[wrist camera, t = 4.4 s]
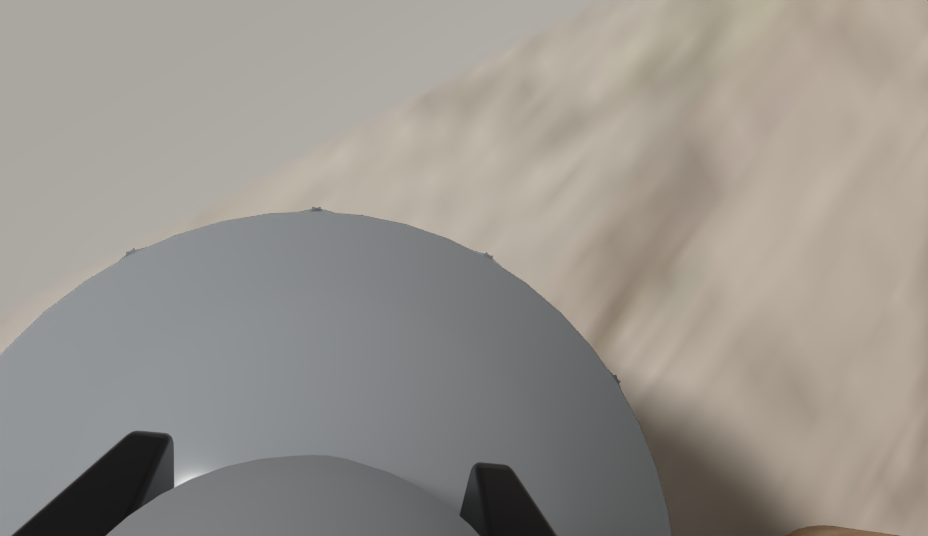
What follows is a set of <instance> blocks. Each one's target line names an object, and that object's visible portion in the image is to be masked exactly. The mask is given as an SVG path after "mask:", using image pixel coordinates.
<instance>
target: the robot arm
mask: <svg viewBox="0 0 928 536" xmlns="http://www.w3.org/2000/svg"><path fill="white" fill-rule="evenodd" d="M173 488H174V442H173V439H172V436H170V435H169V434H167V433H160V432H149V431H139V430H138V431H133V432H130V433H129V434H127V435H126V436H125V437H124V438H122V439H121V440H120V441H119V442H118V443H117V444H116V445H114V446H113V447H112V448H111V449H110V450H109V451H108V452H106V453H105V454H104V455H103V456H102V457H101V458H100V459H98V460H97V461H96V462H95V463H94V464H93V465H91V466H90V467H89V468H88V469H87V470H86V471H85V472H83V473H82V474H81V475H80V476H79V477H78V478H77V479H75V480H74V481H73V482H72V483H71V484H70V485H69V486H67V487H66V488H65V489H64V490H63V491H62V492H60V493H59V494H58V495H57V496H56V497H55V498H54V499H52V500H51V501H50V502H49V503H48V504H47V505H46V506H44V507H43V508H42V509H41V510H40V511H39V512H38V513H36V514H35V515H34V516H33V517H32V518H31V519H30V520H28V521H27V522H26V523H25V524H24V525H23V526H21V527H20V528H19V529H18V530H17V531H16V532H15V533H13V534H12V535H11V536H106V535H107V534H108V533H109V532H110V531H112V530H113V529H114V528H115V527H116V526H117V525H119V524H120V523H121V522H122V521H123V520H124V519H125V518H127V517H128V516H129V515H131V514H132V513H134V512H135V511H137V510H138V509H140V508H141V507H143V506H144V505H146V504H147V503H148V502H150V501H151V500H153V499H154V498H156V497H157V496H159V495H161V494H163V493H165V492H167V491H169V490H171V489H173ZM460 517H461V518H462V519H464V520H465V521H466V522H467V523H468V524H469V525H471V527H472V528H473V529H474V530H475V531H476V532H477V533H478V534H479V536H557V535H556V533H555V532H554V530H553V529H552V527H551V526H550V524H549V523H548V521H547V520H546V518H545V517H544V515H543V514H542V512H541V511H540V509H539V508H538V506H537V505H536V503H535V502H534V500H533V499H532V497H531V496H530V494H529V493H528V491H527V490H526V488H525V487H524V486H523V484H522V483H521V481H520V480H519V478H518V477H517V475H516V474H515V472H514V471H513V469H512V468H510V467H509V466H507V465H504V464H493V463H483V462H478V463H476V464H474V465H473V467H472V468H471V471H470V475H469V479H468V483H467V487H466V491H465V495H464V499H463V503H462V507H461V511H460Z"/></svg>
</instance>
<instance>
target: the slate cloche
mask: <svg viewBox="0 0 928 536" xmlns="http://www.w3.org/2000/svg"><path fill="white" fill-rule="evenodd" d="M619 383H620V381H619V380H618V379H617V376H616V375H613V374H612V373H611V372H610V371H609V370H608V369H607V368H606V366H605V365H604V363H603V362H602V361H601V359H600V358H599V356H598V355H597V354H596V352H595V351H594V349H593V348H592V347H591V345H590V344H589V343H588V342H587V341H586V340H585V339H584V338H583V337H582V335H581V334H580V333H579V332H578V331H577V330H576V329H575V328H574V327H573V326H572V324H571V323H570V322H569V321H568V320H567V319H566V318H565V317H564V316H563V315H562V314H561V312H559V311H558V310H557V309H556V308H555V307H554V306H552V305H551V304H550V303H549V302H548V301H547V300H545V299H544V298H543V297H542V296H541V295H540V294H538V293H537V292H536V291H535V290H534V289H532V288H531V287H530V286H529V285H528V284H527V283H525V282H524V281H522V280H521V279H519V278H518V277H516V276H515V275H513V274H512V273H510V272H508V271H507V270H505V269H504V268H502V267H501V266H500V265H499V264H498V263H497V262H496V261H495V260H494V259H493V256H491V255H489V254H488V253H487V252H486V253H485V254H484V253H480V252H477V251H473V250H470V249H468V248H466V247H464V246H462V245H460V244H458V243H456V242H454V241H452V240H450V239H447V238H444V237H442V236H439V235H436V234H433V233H430V232H427V231H424V230H421V229H418V228H415V227H412V226H409V225H407V224H402V223H397V222H392V221H388V220H383V219H378V218H373V217H368V216H363V215H354V214H341V213H334V212H330V211H327V210H323V209H321V207H318V208H316V207H312V209H309V210H305V211H301V212H292V213H269V214H263V215H257V216H251V217H245V218H239V219H233V220H227V221H222V222H218V223H215V224H212V225H208V226H205V227H201V228H198V229H195V230H191V231H188V232H185V233H181V234H178V235H175V236H172V237H170V238H168V239H166V240H163V241H161V242H159V243H156V244H154V245H152V246H149V247H146V248H142V249H137V250H135V249H134V248H133V249H132V250H131V251H129V252H126V255H125V256H124V257H123V258H122V259H121V260H120V261H118V262H117V263H115V264H113V265H112V266H110V267H108V268H107V269H105V270H103V271H101V272H100V273H98V274H96V275H95V276H93V277H91V278H89V279H88V280H86V281H85V282H83V283H82V284H81V285H79V286H78V287H77V288H75V289H74V290H73V291H71V292H70V293H69V294H67V295H66V296H65V297H63V298H62V299H61V300H60V301H58V302H57V303H56V304H54V305H53V306H52V307H50V308H49V309H48V310H46V311H45V312H44V313H43V314H42V315H41V316H40V317H39V318H37V319H36V320H35V321H34V322H33V323H32V324H31V325H30V326H29V327H28V328H27V329H26V330H25V331H24V332H23V333H22V334H21V335H20V336H19V337H18V338H17V339H16V340H15V341H14V342H13V343H12V344H11V345H10V346H9V347H7V348H6V349H5V351H4V352H3V353H2V354H1V355H0V536H11V535H12V534H13V533H15V532H16V531H17V530H18V529H19V528H20V527H21V526H23V525H24V524H25V523H26V522H27V521H28V520H30V519H31V518H32V517H33V516H34V515H35V514H36V513H38V512H39V511H40V510H41V509H42V508H43V507H44V506H46V505H47V504H48V503H49V502H50V501H51V500H52V499H54V498H55V497H56V496H57V495H58V494H59V493H60V492H62V491H63V490H64V489H65V488H66V487H67V486H69V485H70V484H71V483H72V482H73V481H74V480H75V479H77V478H78V477H79V476H80V475H81V474H82V473H83V472H85V471H86V470H87V469H88V468H89V467H90V466H91V465H93V464H94V463H95V462H96V461H97V460H98V459H100V458H101V457H102V456H103V455H104V454H105V453H106V452H108V451H109V450H110V449H111V448H112V447H113V446H114V445H116V444H117V443H118V442H119V441H120V440H121V439H122V438H124V437H125V436H126V435H127V434H129V433H130V432H133V431H138V430H139V431H149V432H160V433H167V434H169V435H170V436H172V439H173V442H174V488H173V489H171V490H169V491H167V492H165V493H163V494H161V495H159V496H157V497H156V498H154V499H153V500H151V501H150V502H148V503H147V504H146V505H144V506H143V507H141V508H140V509H138V510H137V511H135V512H134V513H132V514H131V515H129V516H128V517H127V518H125V519H124V520H123V521H122V522H121V523H120V524H119V525H117V526H116V527H115V528H114V529H113V530H112V531H110V532H109V533H108V534H107V535H106V536H479V534H478V533H477V532H476V531H475V530H474V529H473V528H472V527H471V525H469V524H468V523H467V522H466V521H465V520H464V519H462V518H461V517H460V511H461V507H462V503H463V499H464V495H465V491H466V487H467V483H468V479H469V475H470V471H471V468H472V467H473V465H474V464H476V463H478V462H483V463H493V464H504V465H507V466H509V467H510V468H512V469H513V471H514V472H515V474H516V475H517V477H518V478H519V480H520V481H521V483H522V484H523V486H524V487H525V488H526V490H527V491H528V493H529V494H530V496H531V497H532V499H533V500H534V502H535V503H536V505H537V506H538V508H539V509H540V511H541V512H542V514H543V515H544V517H545V518H546V520H547V521H548V523H549V524H550V526H551V527H552V529H553V530H554V532H555V533H556V535H557V536H671V529H670V521H669V514H668V510H667V506H666V502H665V498H664V495H663V491H662V487H661V483H660V479H659V476H658V472H657V468H656V465H655V463H654V460H653V457H652V455H651V452H650V450H649V447H648V445H647V442H646V440H645V437H644V435H643V432H642V429H641V427H640V424H639V422H638V420H637V419H636V417H635V415H634V413H633V411H632V409H631V407H630V406H629V404H628V402H627V400H626V398H625V396H624V394H623V393H622V391H621V388H620V385H619Z"/></svg>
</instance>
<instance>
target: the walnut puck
mask: <svg viewBox="0 0 928 536" xmlns="http://www.w3.org/2000/svg"><path fill="white" fill-rule="evenodd" d="M786 536H898V535H891V534H884V533H877V532H870V531H863V530H856V529H849V528H842V527H835V526H821V525H819V526H810V527H806V528H802V529H799V530H796V531H794V532H792V533H789V534H787V535H786Z"/></svg>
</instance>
